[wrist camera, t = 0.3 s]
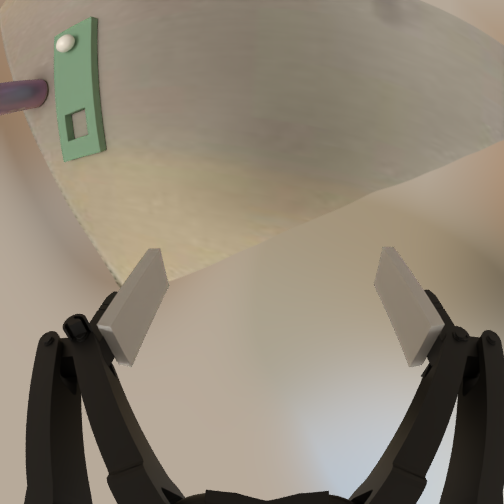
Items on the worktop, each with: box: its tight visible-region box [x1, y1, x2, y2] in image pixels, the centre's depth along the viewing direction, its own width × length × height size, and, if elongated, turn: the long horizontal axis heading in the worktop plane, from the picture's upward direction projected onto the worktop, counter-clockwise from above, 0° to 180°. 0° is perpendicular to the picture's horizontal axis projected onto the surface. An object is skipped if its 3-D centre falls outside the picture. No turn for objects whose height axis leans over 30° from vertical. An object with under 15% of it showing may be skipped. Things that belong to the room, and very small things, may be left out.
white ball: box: [56, 34, 75, 53], centre depth 25 cm, size 4×4×4 cm
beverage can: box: [0, 79, 48, 115], centre depth 26 cm, size 6×6×15 cm
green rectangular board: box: [54, 17, 106, 162], centre depth 32 cm, size 26×9×2 cm, turn 4°
